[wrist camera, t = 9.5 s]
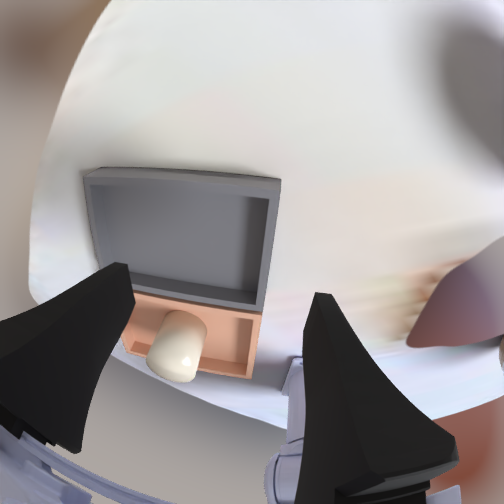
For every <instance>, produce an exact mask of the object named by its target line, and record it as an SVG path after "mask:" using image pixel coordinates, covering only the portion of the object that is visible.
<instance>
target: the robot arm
mask: <svg viewBox="0 0 504 504" xmlns="http://www.w3.org/2000/svg"><path fill="white" fill-rule="evenodd" d="M135 304H136V301H135V297H134V292H133V288H132V283H131V278H130V273H129V268H128V264H125V263H119V262H114V263H112V264H110V265H108V266H106V267H104V268H102V269H101V270H99V271H97V272H96V273H94V274H92V275H91V276H89V277H87V278H86V279H84V280H83V281H81V282H79V283H78V284H76V285H74V286H73V287H71V288H69V289H68V290H66V291H64V292H62V293H61V294H59V295H57V296H56V297H54V298H52V299H50V300H49V301H47V302H45V303H43V304H41V305H39V306H37V307H35V308H32V309H30V310H28V311H26V312H23V313H21V314H18V315H16V316H13V317H11V318H8V319H5V320H2V321H0V504H93V503H91V502H90V501H91V498H92V496H91V494H89V493H88V492H86V491H84V490H83V489H81V488H80V487H78V486H76V485H74V484H72V483H70V482H68V481H66V480H64V479H62V478H60V477H59V476H57V475H55V474H53V473H52V471H51V467H52V468H53V469H55V470H57V471H58V472H60V473H61V474H63V475H65V476H67V477H68V478H70V479H72V480H74V481H76V482H77V483H79V484H81V485H83V486H85V487H87V488H89V489H91V490H93V491H95V492H97V493H99V494H101V495H103V496H105V497H107V498H110V499H112V500H114V501H117V502H119V503H121V504H175V503H171V502H168V501H164V500H161V499H158V498H155V497H151V496H148V495H145V494H143V493H139V492H137V491H134V490H131V489H129V488H126V487H124V486H121V485H119V484H116V483H114V482H112V481H109V480H107V479H105V478H103V477H100V476H98V475H96V474H94V473H92V472H90V471H88V470H86V469H84V468H82V467H80V466H78V465H77V464H75V463H73V462H71V461H69V460H67V459H66V458H64V457H62V456H61V455H59V454H57V453H56V452H54V451H52V450H51V449H49V448H48V447H46V446H45V445H46V442H48V443H49V444H51V445H52V446H55V445H56V444H57V445H59V446H61V447H63V448H64V449H66V450H68V451H70V452H71V453H73V454H77V453H79V452H81V448H82V440H83V434H84V427H85V423H86V418H87V414H88V410H89V406H90V403H91V400H92V396H93V393H94V390H95V387H96V384H97V382H98V379H99V376H100V374H101V372H102V369H103V367H104V365H105V363H106V361H107V359H108V358H109V356H110V354H111V352H112V350H113V349H114V347H115V345H116V343H117V342H118V340H119V338H120V336H121V334H122V333H123V331H124V329H125V327H126V325H127V324H128V321H129V319H130V317H131V314H132V312H133V309H134V306H135ZM302 357H303V358H294V359H293V360H292V363H291V366H290V369H289V372H288V375H287V377H286V380H285V383H284V386H283V388H282V391H281V394H282V395H283V396H289V402H288V422H287V440H286V444H285V445H281V449H280V453H276V454H274V455H273V456H272V458H271V459H270V460H269V461H268V463H267V466H266V469H265V474H264V489H265V494H266V497H267V501H268V504H461V495H460V486H459V485H456V486H453V487H451V488H449V489H446V490H443V491H440V492H438V493H435V494H432V495H429V496H426V493H425V490H428V489H430V479H432V478H435V477H436V476H439V475H441V474H443V473H445V472H447V471H448V470H450V469H452V468H454V467H455V466H456V465H457V464H458V462H459V456H458V451H457V446H456V441H455V438H454V436H452V435H451V434H450V433H448V432H447V431H445V430H444V429H443V428H441V427H440V426H438V425H437V424H436V423H434V422H433V421H432V420H431V419H429V418H428V417H427V416H426V415H425V414H423V413H422V412H421V411H420V410H419V409H418V408H417V407H415V406H414V405H413V404H412V403H411V402H410V401H409V400H408V399H407V398H406V397H405V396H404V395H403V394H402V393H401V392H400V391H399V390H398V389H397V388H396V387H395V386H394V384H393V383H392V382H391V381H390V380H389V379H388V378H387V376H386V375H385V374H384V373H383V372H382V370H381V369H380V368H379V367H378V366H377V364H376V363H375V362H374V360H373V359H372V358H371V356H370V355H369V353H368V352H367V351H366V349H365V348H364V346H363V345H362V343H361V342H360V340H359V339H358V337H357V335H356V334H355V332H354V331H353V329H352V328H351V326H350V324H349V323H348V321H347V319H346V318H345V316H344V314H343V313H342V311H341V309H340V307H339V306H338V304H337V302H336V301H335V299H334V297H333V296H332V294H326V293H318V292H315V295H314V298H313V301H312V305H311V308H310V311H309V315H308V318H307V321H306V324H305V327H304V330H303V350H302Z"/></svg>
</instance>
